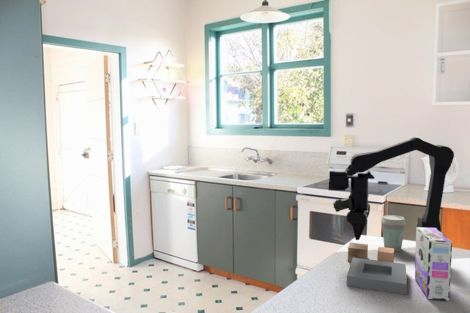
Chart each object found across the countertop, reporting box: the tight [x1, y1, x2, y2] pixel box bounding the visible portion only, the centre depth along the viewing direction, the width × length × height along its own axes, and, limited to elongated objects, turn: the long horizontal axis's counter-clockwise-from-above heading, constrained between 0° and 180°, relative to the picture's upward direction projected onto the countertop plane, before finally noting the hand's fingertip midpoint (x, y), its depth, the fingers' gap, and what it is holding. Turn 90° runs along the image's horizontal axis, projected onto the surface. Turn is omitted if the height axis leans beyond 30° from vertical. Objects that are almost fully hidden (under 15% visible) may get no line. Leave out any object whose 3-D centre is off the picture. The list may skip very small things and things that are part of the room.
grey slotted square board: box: [346, 258, 408, 295], centre depth 117 cm, size 16×16×3 cm
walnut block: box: [347, 242, 369, 263], centre depth 134 cm, size 6×6×5 cm
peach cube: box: [376, 246, 395, 263], centre depth 129 cm, size 5×5×5 cm
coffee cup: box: [380, 214, 407, 252], centre depth 144 cm, size 8×8×12 cm
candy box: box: [414, 227, 453, 302], centre depth 109 cm, size 14×6×16 cm, turn 168°
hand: (358, 236), depth 133 cm, fingers open, 9 cm apart
